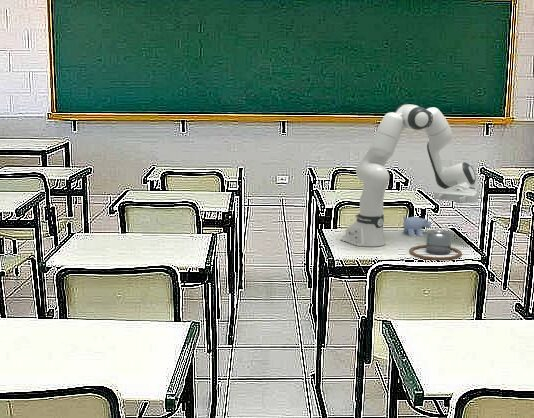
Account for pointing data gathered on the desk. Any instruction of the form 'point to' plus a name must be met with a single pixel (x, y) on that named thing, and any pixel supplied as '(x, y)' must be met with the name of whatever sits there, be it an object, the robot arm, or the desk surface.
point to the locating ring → (434, 257)
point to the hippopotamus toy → (415, 225)
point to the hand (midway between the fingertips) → (449, 199)
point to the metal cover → (438, 242)
